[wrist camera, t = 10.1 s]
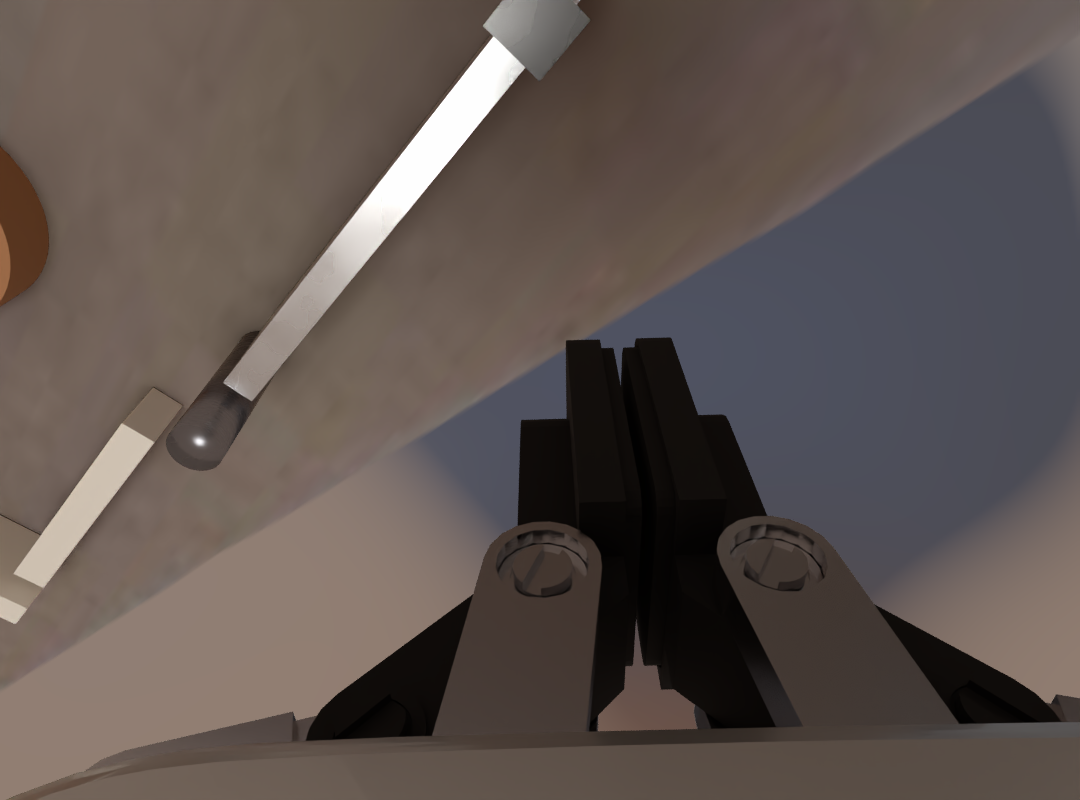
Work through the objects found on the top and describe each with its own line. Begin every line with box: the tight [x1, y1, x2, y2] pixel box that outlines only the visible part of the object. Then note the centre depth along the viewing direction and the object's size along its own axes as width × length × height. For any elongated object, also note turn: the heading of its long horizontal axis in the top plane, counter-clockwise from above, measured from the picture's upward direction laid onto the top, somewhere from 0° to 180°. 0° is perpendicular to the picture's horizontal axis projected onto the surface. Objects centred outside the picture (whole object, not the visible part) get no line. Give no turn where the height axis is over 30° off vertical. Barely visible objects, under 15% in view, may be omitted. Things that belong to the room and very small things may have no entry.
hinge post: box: [166, 332, 277, 471], centre depth 29 cm, size 2×2×8 cm
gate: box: [223, 0, 590, 401], centre depth 25 cm, size 18×2×8 cm, turn 138°
